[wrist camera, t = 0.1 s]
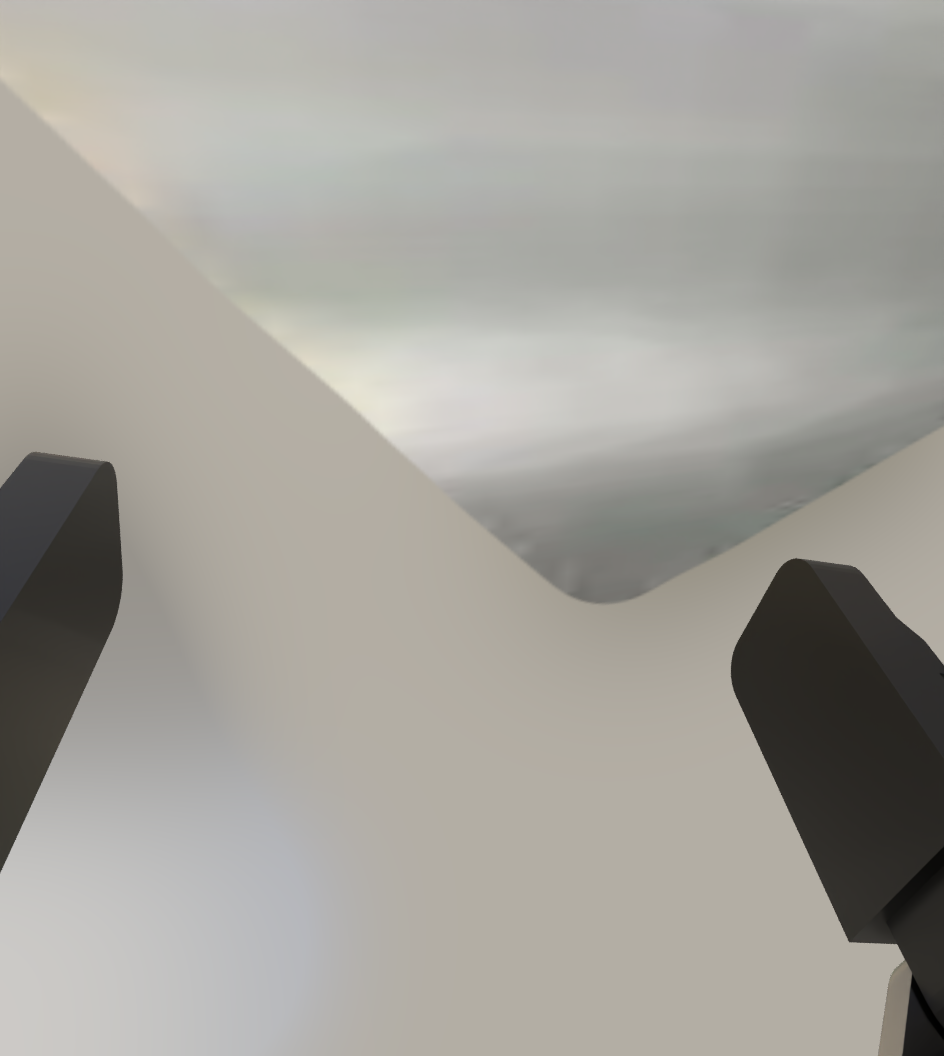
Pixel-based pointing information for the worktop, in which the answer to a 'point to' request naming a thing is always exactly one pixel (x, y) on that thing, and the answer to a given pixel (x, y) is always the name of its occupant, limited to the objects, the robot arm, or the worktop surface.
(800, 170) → the worktop surface
